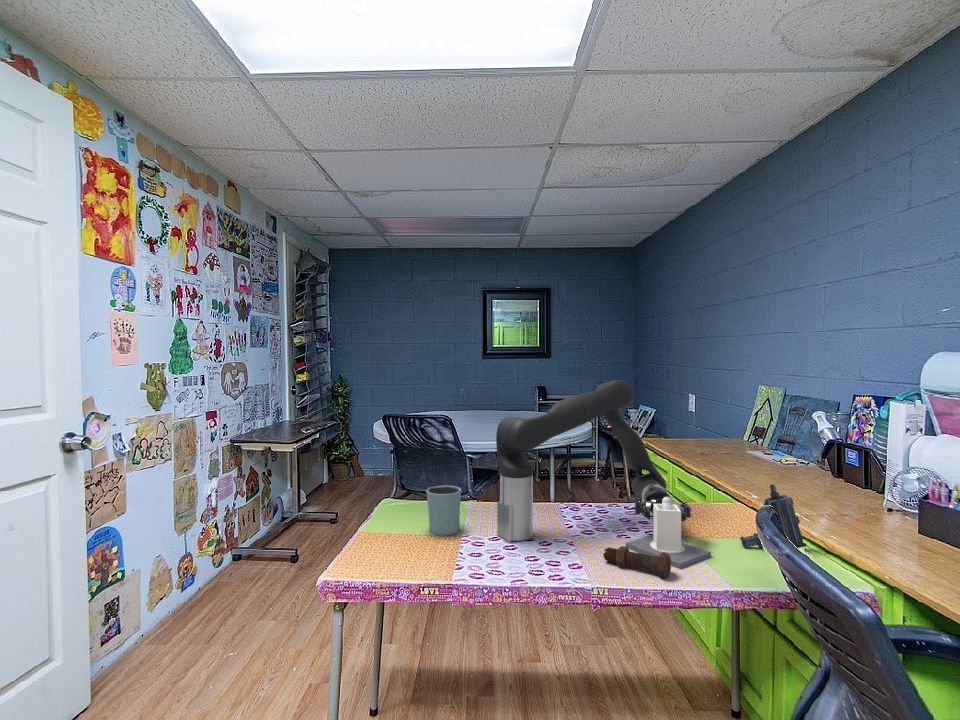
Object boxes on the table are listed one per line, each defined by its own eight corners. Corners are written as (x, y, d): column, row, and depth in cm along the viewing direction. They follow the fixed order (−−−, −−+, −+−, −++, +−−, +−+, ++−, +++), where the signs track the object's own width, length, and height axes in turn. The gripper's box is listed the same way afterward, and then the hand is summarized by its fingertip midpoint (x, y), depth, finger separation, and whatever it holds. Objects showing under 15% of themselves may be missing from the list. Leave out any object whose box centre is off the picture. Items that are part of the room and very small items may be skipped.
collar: (681, 551, 124) (681, 511, 124) (656, 549, 125) (656, 510, 125) (676, 542, 129) (676, 504, 129) (653, 541, 130) (653, 503, 130)
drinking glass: (452, 538, 136) (452, 495, 136) (420, 534, 140) (420, 492, 140) (466, 527, 146) (466, 486, 146) (435, 523, 149) (435, 483, 149)
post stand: (679, 568, 117) (679, 509, 117) (625, 547, 130) (625, 493, 130) (710, 556, 124) (710, 500, 124) (656, 537, 137) (656, 486, 137)
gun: (727, 493, 132) (784, 480, 130) (744, 554, 131) (801, 542, 130) (731, 496, 129) (789, 482, 127) (748, 558, 129) (807, 545, 127)
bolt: (606, 567, 122) (669, 581, 113) (599, 563, 118) (663, 577, 110) (610, 543, 124) (672, 555, 116) (603, 538, 121) (666, 550, 112)
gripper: (631, 485, 146) (637, 500, 130) (682, 487, 143) (695, 503, 127) (631, 510, 146) (637, 529, 130) (682, 513, 143) (695, 532, 127)
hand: (666, 516), depth 129 cm, fingers open, 8 cm apart
